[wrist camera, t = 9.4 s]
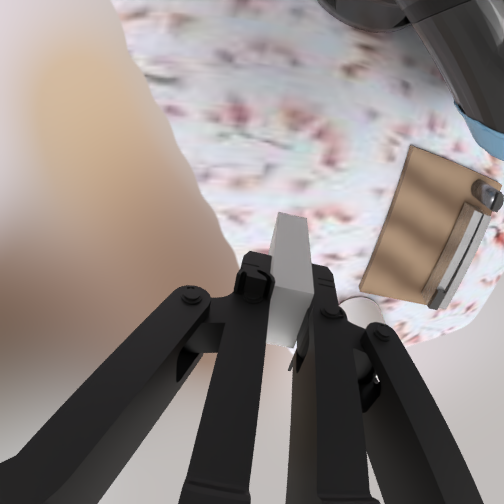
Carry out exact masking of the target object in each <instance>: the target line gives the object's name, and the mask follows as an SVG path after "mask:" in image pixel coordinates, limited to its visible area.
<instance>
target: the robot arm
mask: <svg viewBox="0 0 504 504" xmlns="http://www.w3.org/2000/svg"><path fill="white" fill-rule="evenodd" d="M317 1H318V2H319V3H320V4H321V6H322V7H323V8H324V9H325V10H326V11H328V12H329V13H330V14H331V15H333V16H334V17H335V18H337V19H338V20H340V21H342V22H344V23H345V24H348V25H350V26H352V27H355V28H358V29H361V30H365V31H370V32H392V31H397V30H400V29H402V28H405V27H407V26H409V25H411V24H412V26H413V27H414V29H415V30H416V32H417V34H418V35H419V37H420V38H421V40H422V41H423V43H424V45H425V46H426V48H427V50H428V51H429V53H430V55H431V56H432V58H433V60H434V62H435V63H436V65H437V67H438V69H439V71H440V73H441V74H442V76H443V78H444V80H445V82H446V84H447V86H448V88H449V90H450V92H451V94H452V96H453V98H454V104H455V106H456V108H457V110H458V111H459V113H460V114H461V115H462V116H463V117H464V119H465V121H466V123H467V125H468V127H469V130H470V132H471V134H472V136H473V138H474V139H475V141H476V142H477V143H478V145H479V146H480V147H482V148H483V149H485V151H487V152H488V153H489V154H490V155H492V156H494V157H496V158H498V159H500V160H502V161H504V0H317ZM413 23H414V24H413ZM296 340H297V349H296V351H295V354H294V356H293V358H292V361H291V363H290V366H289V369H288V371H291V369H292V367H293V378H292V379H293V380H292V404H291V426H290V445H289V463H288V477H287V493H286V504H380V502H379V501H378V500H377V499H375V498H373V497H372V496H371V494H370V490H369V477H368V464H367V454H368V456H369V459H370V462H371V465H372V468H373V470H374V474H375V476H376V479H377V482H378V485H379V488H380V491H381V494H382V497H383V500H384V503H385V504H484V503H483V501H482V499H481V496H480V494H479V492H478V489H477V487H476V485H475V482H474V480H473V478H472V476H471V473H470V471H469V469H468V467H467V465H466V462H465V460H464V458H463V456H462V454H461V452H460V450H459V448H458V446H457V443H456V441H455V439H454V438H453V436H452V433H451V432H450V429H449V428H448V425H447V423H446V421H445V420H444V418H443V416H442V414H441V412H440V410H439V408H438V406H437V404H436V403H435V400H434V399H433V397H432V395H431V393H430V391H429V389H428V388H427V386H426V384H425V382H424V380H423V379H422V377H421V375H420V373H419V371H418V370H417V368H416V366H415V364H414V363H413V361H412V359H411V357H410V356H409V354H408V352H407V350H406V349H405V347H404V345H403V344H402V342H401V340H400V339H399V337H398V335H397V334H396V332H395V331H394V330H393V329H392V328H391V327H389V326H388V325H386V324H383V323H379V322H373V323H370V324H369V325H367V327H366V329H364V328H362V327H359V326H357V325H355V324H353V323H351V322H349V321H348V319H347V315H346V313H345V311H344V310H343V309H342V308H341V307H340V306H338V300H337V294H336V289H335V283H334V278H333V274H332V272H331V271H330V270H329V268H328V267H325V266H321V265H316V264H312V263H311V254H310V244H309V234H308V225H307V218H303V217H299V216H295V215H290V214H286V213H281V212H278V216H277V220H276V224H275V228H274V232H273V236H272V240H271V245H270V249H269V253H268V255H266V254H262V253H257V252H253V251H249V252H248V253H247V254H245V255H244V257H243V261H242V265H241V269H240V270H239V272H238V273H237V276H236V281H235V286H234V292H233V293H231V294H230V295H228V296H225V297H219V298H211V297H210V294H209V293H208V292H207V291H206V290H204V289H202V288H201V287H197V286H189V285H188V286H187V285H186V286H182V287H179V288H177V289H176V290H174V291H173V292H172V293H171V294H170V295H169V296H168V297H167V298H166V299H165V300H164V301H163V302H162V303H161V304H160V305H159V306H158V307H157V308H156V309H155V310H154V311H153V312H152V313H151V314H150V315H149V316H148V317H147V318H146V319H145V320H144V321H143V322H142V323H141V324H140V325H139V326H138V327H137V328H136V329H135V330H134V331H133V332H132V333H131V335H130V336H128V338H127V339H126V340H125V341H124V342H123V343H122V344H121V345H120V346H119V347H118V348H117V349H116V350H115V351H114V352H113V353H112V354H111V355H110V356H109V357H108V358H107V359H106V360H105V361H104V362H103V363H102V364H101V365H100V366H99V367H98V368H97V369H96V370H95V371H94V373H93V374H92V375H91V376H90V377H89V378H88V379H87V380H86V381H85V382H84V383H83V384H82V385H81V386H80V387H79V388H78V389H77V390H76V391H75V392H74V393H73V395H72V396H71V397H70V398H69V399H68V400H67V401H66V402H65V403H64V404H63V405H62V406H61V407H60V408H59V409H58V410H57V412H56V413H55V414H54V415H53V416H52V417H51V418H50V419H49V420H48V421H47V422H46V423H45V424H44V425H43V427H42V428H41V429H40V430H39V431H38V432H37V433H36V434H35V435H34V436H33V437H32V439H31V440H30V441H29V442H28V443H27V444H26V445H25V446H24V447H23V448H22V450H21V451H20V452H19V453H18V454H17V455H16V456H14V457H12V458H10V459H8V460H6V461H4V462H2V463H0V504H97V503H98V502H99V500H100V499H101V498H102V497H103V495H104V494H105V493H106V491H107V490H108V488H109V487H110V486H111V484H112V483H113V482H114V480H115V479H116V478H117V476H118V475H119V473H120V472H121V471H122V469H123V468H124V466H125V465H126V464H127V462H128V461H129V460H130V458H131V457H132V455H133V454H134V453H135V451H136V450H137V448H138V447H139V446H140V444H141V443H142V441H143V440H144V439H145V437H146V436H147V434H148V433H149V431H150V430H151V429H152V427H153V426H154V425H155V423H156V422H157V420H158V419H159V417H160V416H161V415H162V413H163V412H164V410H165V409H166V408H167V406H168V405H169V403H170V402H171V401H172V399H173V398H174V396H175V395H176V393H177V392H178V390H179V389H180V388H181V386H182V385H183V383H184V382H185V380H186V379H187V378H188V376H189V375H190V373H191V372H192V370H193V369H194V368H195V366H196V365H197V363H198V362H199V360H200V359H201V357H202V356H203V353H218V354H217V358H216V361H215V365H214V369H213V374H212V377H211V381H210V385H209V389H208V393H207V397H206V401H205V405H204V409H203V413H202V417H201V421H200V425H199V429H198V432H197V436H196V440H195V444H194V448H193V452H192V456H191V460H190V465H189V468H188V472H187V476H186V479H185V482H184V484H183V487H182V491H181V495H180V499H179V503H178V504H250V503H251V497H250V493H249V482H250V474H251V467H252V459H253V451H254V443H255V435H256V427H257V418H258V410H259V401H260V393H261V384H262V375H263V366H264V357H265V347H266V343H268V344H273V345H278V346H284V347H289V348H294V345H295V343H296ZM376 375H377V377H378V379H379V381H380V382H378V380H377V378H376ZM366 451H367V453H366Z"/></svg>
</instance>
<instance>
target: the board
mask: <svg viewBox="0 0 504 504" xmlns="http://www.w3.org/2000/svg"><path fill="white" fill-rule="evenodd" d="M478 179H481V180H483V181H485V182H486V183H488V184H489V185H491V186H492V187H494V188H495V189H497V190H498V191H500V190H501V187H502V185H501V184H500V183H498V182H496V181H494V180H492V179H490V178H488V177H486V176H484V175H481V174H479V173H477V172H475V171H473V170H470V169H468V168H466V167H464V166H461V165H459V164H457V163H454V162H452V161H450V160H447V159H445V158H442V157H440V156H438V155H435V154H432V153H430V152H427V151H425V150H422V149H419V148H417V147H414V146H411V145H410V148H409V152H408V155H407V158H406V161H405V165H404V168H403V171H402V174H401V177H400V180H399V183H398V186H397V189H396V192H395V195H394V198H393V201H392V204H391V207H390V209H389V212H388V215H387V218H386V220H385V223H384V226H383V228H382V231H381V234H380V236H379V239H378V242H377V244H376V247H375V249H374V252H373V254H372V257H371V259H370V262H369V264H368V267H367V269H366V271H365V274H364V276H363V278H362V281H361V283H360V285H359V289H360V292H364V293H369V294H374V295H379V296H384V297H389V298H394V299H399V300H404V301H409V302H414V303H419V304H424V305H427V304H426V302H425V300H424V298H423V296H422V294H421V293H422V291H423V289H424V287H425V286H426V284H427V282H428V280H429V278H430V276H431V274H432V272H433V270H434V268H435V266H436V264H437V262H438V260H439V258H440V256H441V254H442V252H443V250H444V248H445V246H446V244H447V242H448V240H449V238H450V235H451V233H452V231H453V229H454V227H455V224H456V222H457V220H458V217H459V215H460V213H461V210H462V208H463V205H464V203H465V202H466V203H468V204H470V205H472V206H473V205H474V206H476V207H479V208H481V209H482V210H483V211H485V212H486V213H487V214H488V215H489V216H491V213H492V211H491V210H490V209H488V208H487V207H486V206H485V205H483V204H482V203H481V202H480V201H478V200H477V199H476V198H474V197H473V196H472V194H471V186H472V184H473V182H474V181H476V180H478Z"/></svg>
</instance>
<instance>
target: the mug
mask: <svg viewBox="0 0 504 504" xmlns="http://www.w3.org/2000/svg"><path fill="white" fill-rule="evenodd" d="M339 306H340V307H341V308H342V309H343V310H344V311H345V313H346V315H347V319H348V321H349V322H351V323H353V324H355V325H357V326H359V327H362V328H364V329H366V327H367V325H369V324H370V323H373V322H379V323H383V324H385V321H384V318H383V315H382V312H381V310H380V308H379V306H378V305H377V304H376V303H375V302H374V301H372V300H371V299H368V298H363V297H356V298H351V299H348V300H346V301H344V302H343V303H341V304H340V305H339ZM376 378H377V375H376Z"/></svg>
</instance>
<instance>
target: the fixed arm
mask: <svg viewBox="0 0 504 504" xmlns="http://www.w3.org/2000/svg"><path fill="white" fill-rule="evenodd" d="M471 194H472V196H473V197H474V198H476V199H477V200H478V201H480V202H481V203H482V204H483V205H485V206H486V207H487V208H488V209H490V210H491V211H495V212H498V210H499V209H500V208H501V207H502V205H503V201H504V198H503V197H504V195H503V194H502V193H501V192H500V191H498V190H497V189H495V188H494V187H492V186H491V185H489V184H488V183H486V182H485V181H483V180H481V179H478V180H476V181H474V182H473V184H472V186H471ZM473 206H474V205H473ZM474 207H475V208H476V209H477V210H479V211H480V212H481V213H482V216H481V218H480V221H479V223H478V225H477V227H476V230H475V232H474V234H473V236H472V238H471V240H470V242H469V244H468V247H467V249H466V251H465V253H464V255H463V257H462V259H461V261H460V263H459V265H458V266H457V268H456V270H455V272H454V274H453V276H452V278H451V280H450V281H449V283H448V285H447V287H446V289H445V292H446V293H447V294H446V296H445V297H444V299H443V301H442V303H441V304H440V306H439V308H442V309H446V308H447V307H448V305H449V303H450V301H451V300H452V298H453V296H454V294H455V292H456V291H457V289H458V287H459V285H460V283H461V281H462V279H463V278H464V276H465V274H466V272H467V270H468V268H469V266H470V264H471V262H472V260H473V258H474V256H475V254H476V252H477V249H478V247H479V245H480V243H481V241H482V239H483V236H484V234H485V232H486V229H487V227H488V225H489V222H490V220H491V218H492V217H491V216H489V215H488V214H487V213H486V212H485V211H483V210H482V209H481V208H479V207H476V206H474Z"/></svg>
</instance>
